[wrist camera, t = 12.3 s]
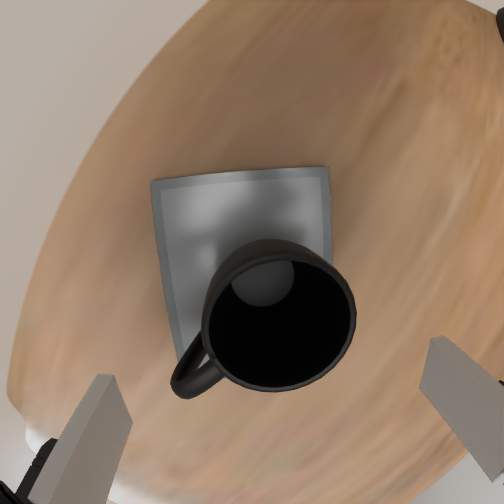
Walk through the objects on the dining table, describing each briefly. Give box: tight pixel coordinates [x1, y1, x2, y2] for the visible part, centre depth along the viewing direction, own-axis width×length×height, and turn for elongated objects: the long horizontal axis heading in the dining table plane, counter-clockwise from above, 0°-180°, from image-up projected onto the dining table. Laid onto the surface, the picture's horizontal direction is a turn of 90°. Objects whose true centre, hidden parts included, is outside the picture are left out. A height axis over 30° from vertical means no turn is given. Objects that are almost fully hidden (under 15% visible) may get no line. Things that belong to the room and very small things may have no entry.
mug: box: [170, 239, 357, 399], centre depth 19 cm, size 8×12×10 cm
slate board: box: [150, 167, 333, 378], centre depth 25 cm, size 18×14×1 cm
